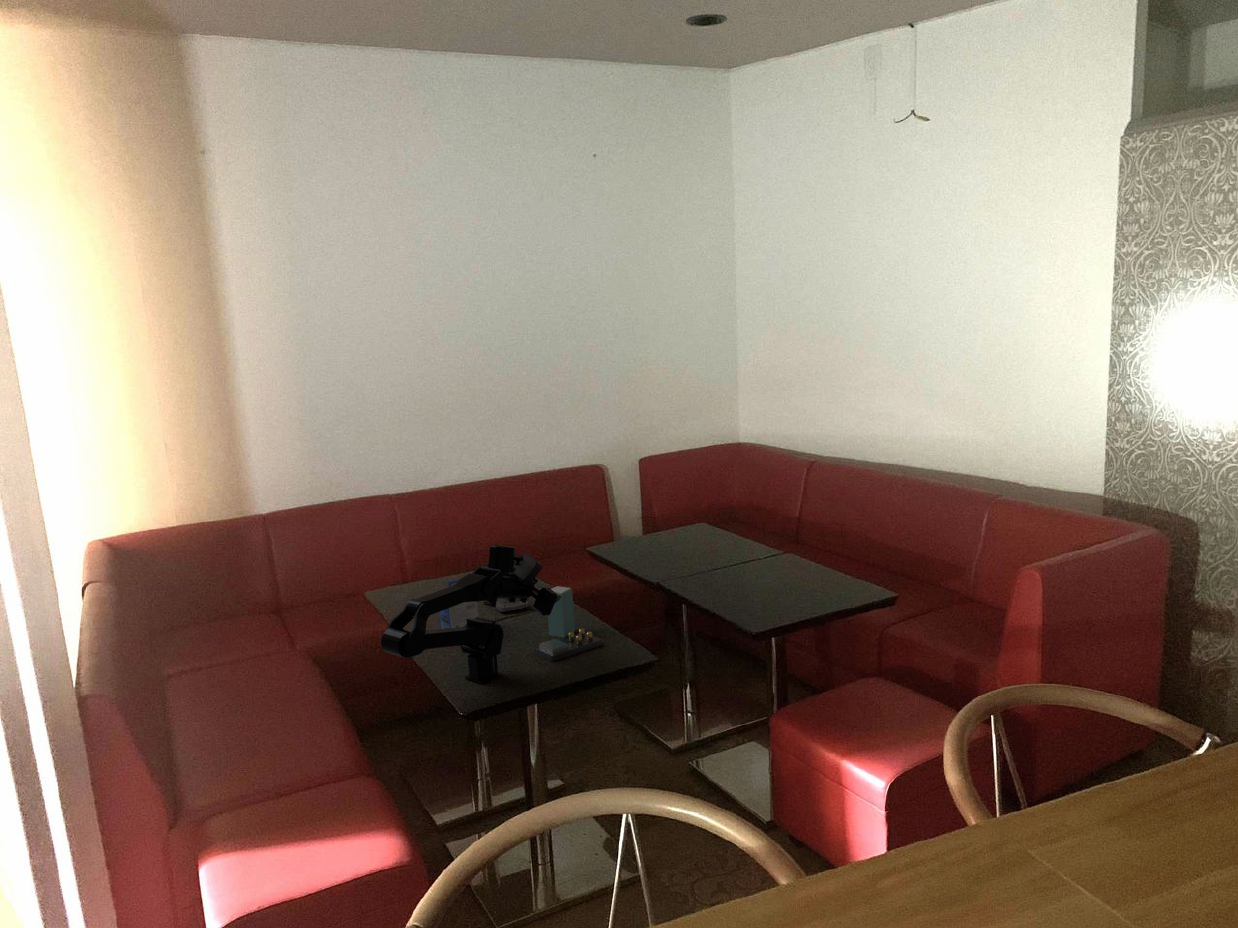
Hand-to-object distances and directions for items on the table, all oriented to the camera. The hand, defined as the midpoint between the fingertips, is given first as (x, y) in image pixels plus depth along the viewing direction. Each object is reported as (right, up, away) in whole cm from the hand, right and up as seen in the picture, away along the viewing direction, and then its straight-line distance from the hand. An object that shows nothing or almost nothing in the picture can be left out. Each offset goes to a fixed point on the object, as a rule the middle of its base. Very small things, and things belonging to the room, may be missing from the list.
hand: (548, 589), depth 247 cm
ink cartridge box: (-26, -14, +17) cm, 34 cm away
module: (+3, -14, +11) cm, 18 cm away
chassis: (+5, -15, -1) cm, 16 cm away
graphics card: (-16, -11, +38) cm, 42 cm away
